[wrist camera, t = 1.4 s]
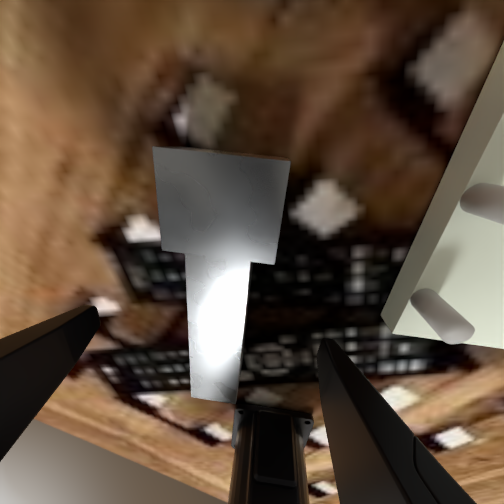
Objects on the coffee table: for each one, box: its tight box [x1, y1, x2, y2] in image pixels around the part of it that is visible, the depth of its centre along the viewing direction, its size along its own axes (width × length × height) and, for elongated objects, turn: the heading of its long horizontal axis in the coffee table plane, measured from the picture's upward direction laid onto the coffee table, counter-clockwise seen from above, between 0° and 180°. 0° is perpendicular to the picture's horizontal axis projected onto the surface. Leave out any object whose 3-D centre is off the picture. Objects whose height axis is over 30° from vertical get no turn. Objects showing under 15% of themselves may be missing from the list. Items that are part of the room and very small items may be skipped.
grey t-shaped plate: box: [152, 146, 291, 404], centre depth 12 cm, size 14×5×3 cm, turn 175°
